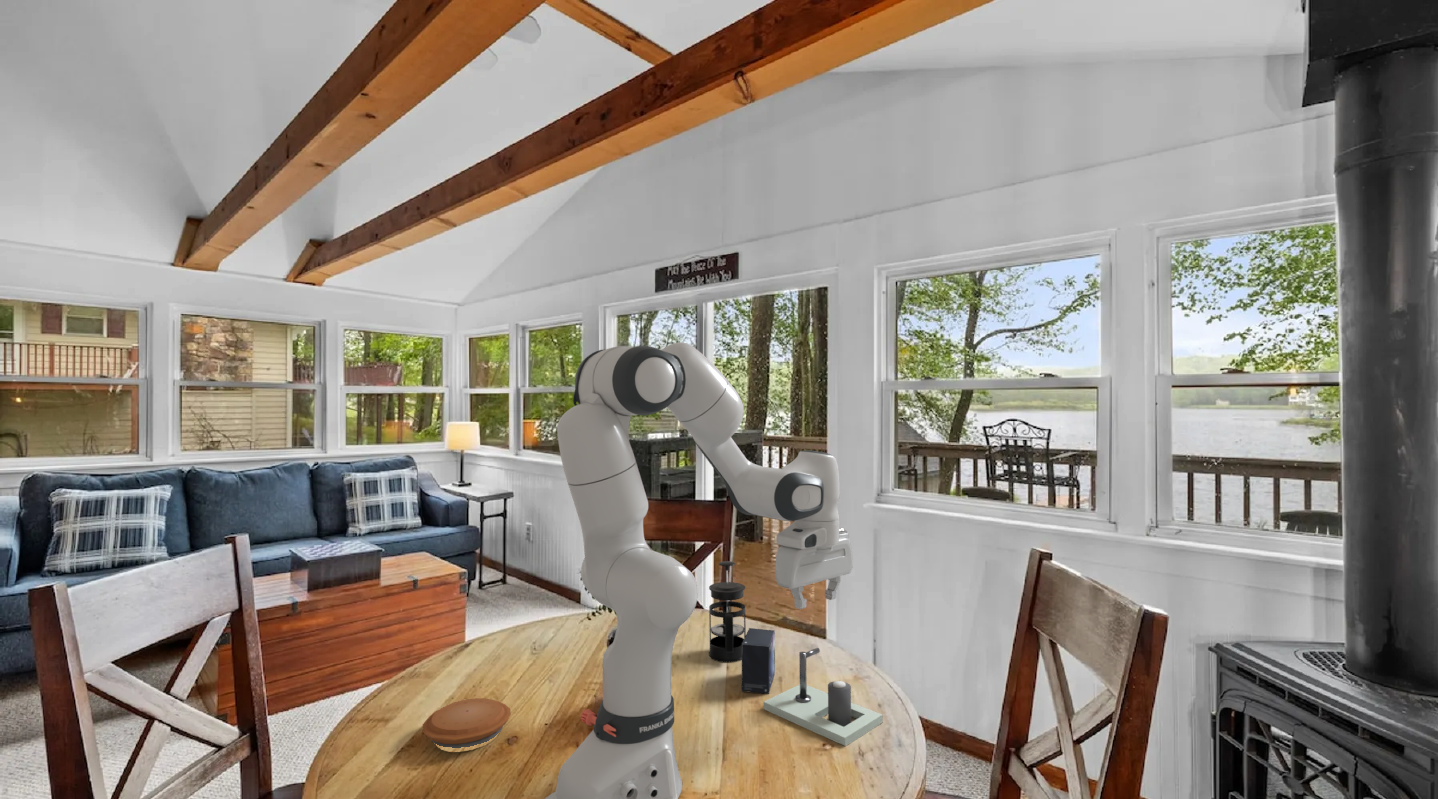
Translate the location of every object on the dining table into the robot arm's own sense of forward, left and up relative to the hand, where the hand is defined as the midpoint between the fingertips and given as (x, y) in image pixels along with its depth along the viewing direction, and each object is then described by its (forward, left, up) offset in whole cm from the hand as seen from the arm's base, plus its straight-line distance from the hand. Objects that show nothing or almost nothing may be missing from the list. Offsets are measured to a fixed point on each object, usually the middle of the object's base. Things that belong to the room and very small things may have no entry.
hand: (815, 603), depth 127 cm
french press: (+10, +35, -23) cm, 43 cm away
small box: (+4, +19, -23) cm, 30 cm away
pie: (-52, +42, -23) cm, 71 cm away
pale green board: (+2, 0, -23) cm, 23 cm away
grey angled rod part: (+4, +5, -21) cm, 22 cm away
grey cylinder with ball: (+2, -4, -23) cm, 23 cm away
